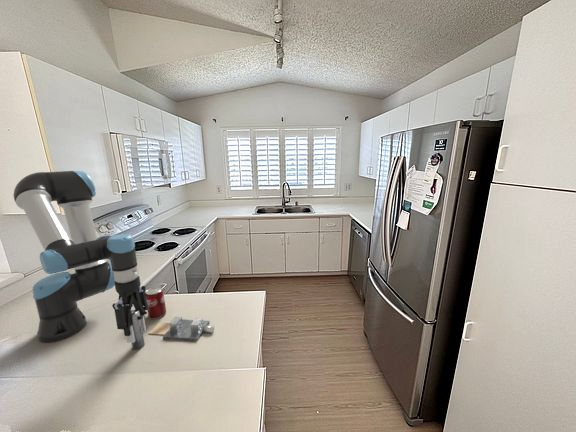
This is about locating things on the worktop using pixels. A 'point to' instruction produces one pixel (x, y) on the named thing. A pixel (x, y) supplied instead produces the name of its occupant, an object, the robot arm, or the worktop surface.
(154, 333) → the cork mat
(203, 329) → the block
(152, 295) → the soda can
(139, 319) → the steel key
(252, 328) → the worktop surface
